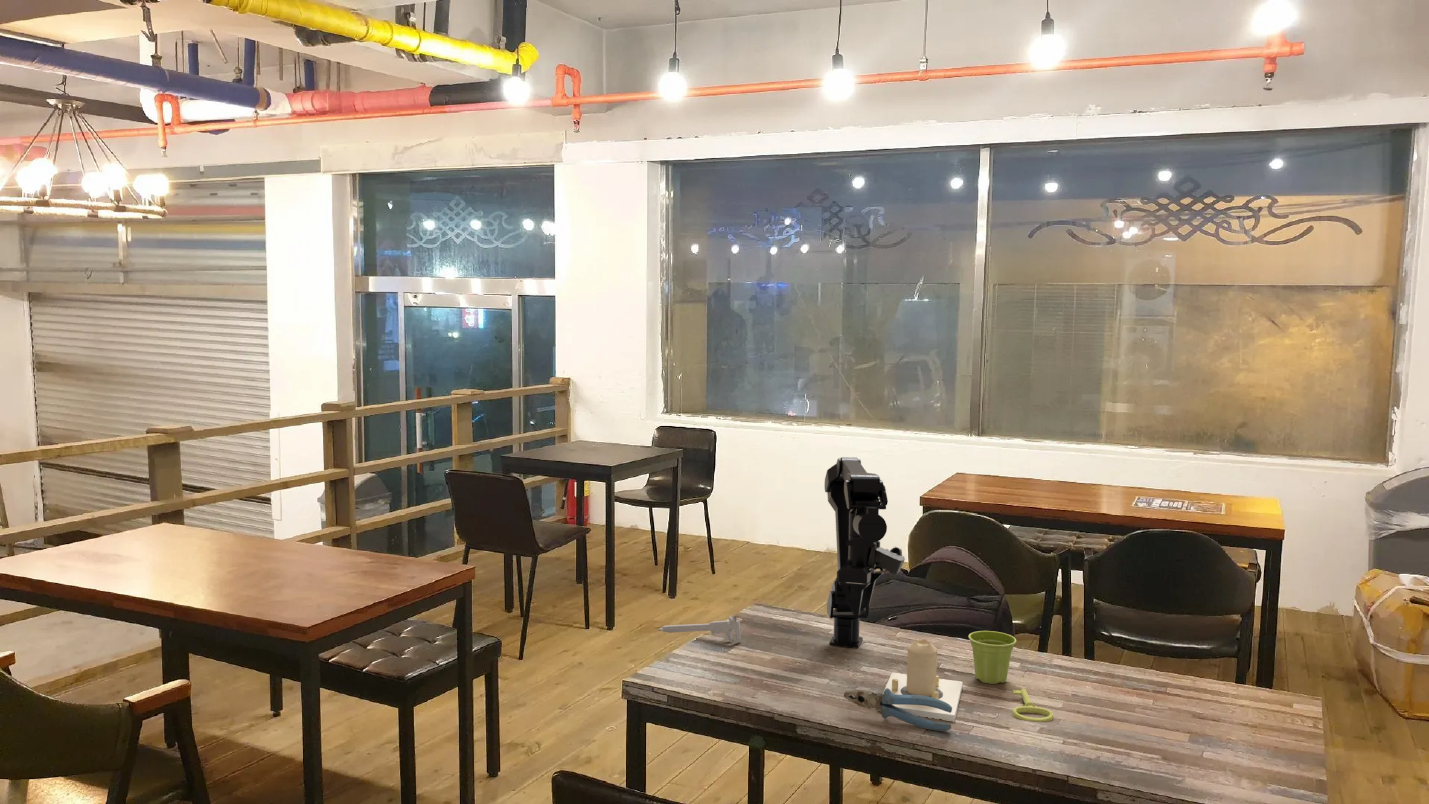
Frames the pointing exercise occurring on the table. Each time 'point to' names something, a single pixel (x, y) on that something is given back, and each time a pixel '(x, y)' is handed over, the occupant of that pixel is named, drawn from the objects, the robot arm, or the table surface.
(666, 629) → the caliper
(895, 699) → the pliers
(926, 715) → the stud tile
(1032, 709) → the key
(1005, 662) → the plant pot
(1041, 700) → the table surface
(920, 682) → the candle
